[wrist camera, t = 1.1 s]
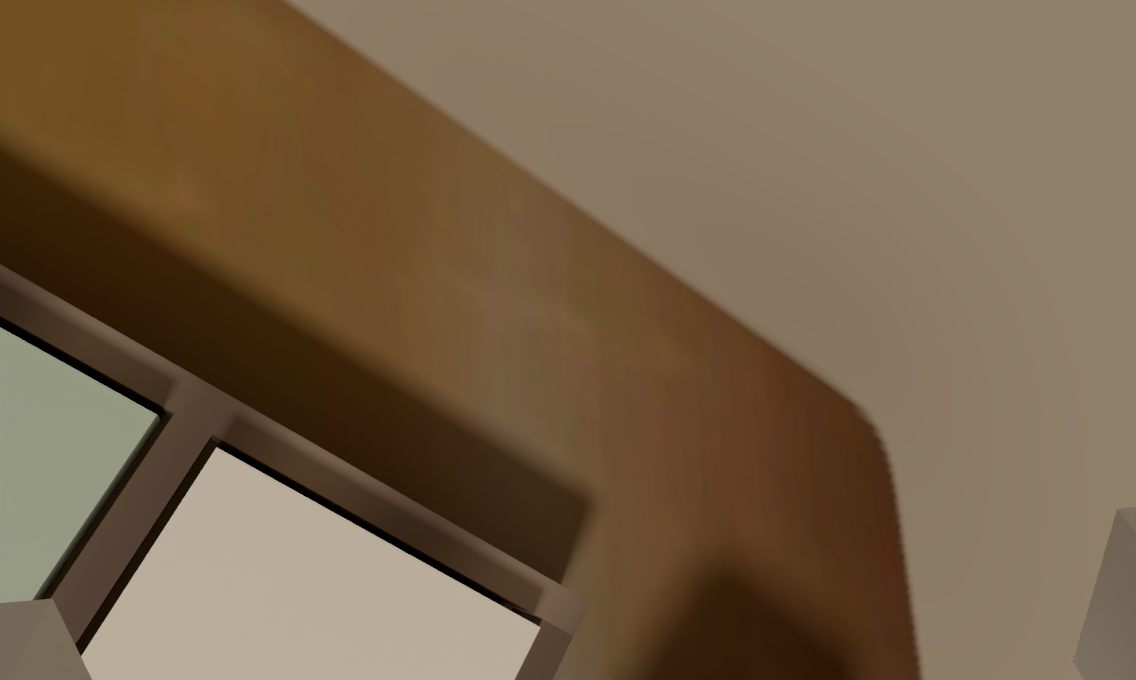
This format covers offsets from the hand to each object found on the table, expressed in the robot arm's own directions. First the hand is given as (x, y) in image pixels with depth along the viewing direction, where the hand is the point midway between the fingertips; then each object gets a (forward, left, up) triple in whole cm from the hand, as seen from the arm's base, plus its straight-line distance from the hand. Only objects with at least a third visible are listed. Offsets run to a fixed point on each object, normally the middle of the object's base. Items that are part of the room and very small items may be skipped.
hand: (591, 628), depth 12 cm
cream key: (+3, -4, -20) cm, 20 cm away
